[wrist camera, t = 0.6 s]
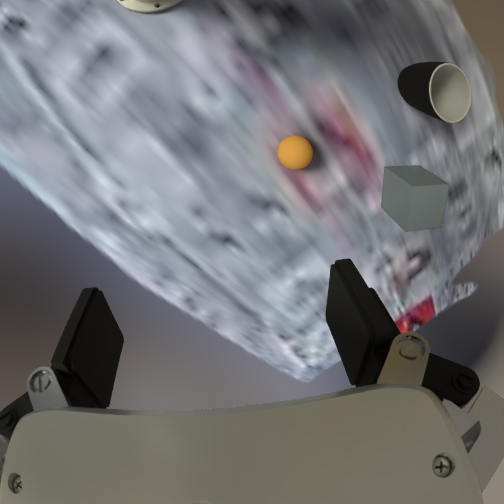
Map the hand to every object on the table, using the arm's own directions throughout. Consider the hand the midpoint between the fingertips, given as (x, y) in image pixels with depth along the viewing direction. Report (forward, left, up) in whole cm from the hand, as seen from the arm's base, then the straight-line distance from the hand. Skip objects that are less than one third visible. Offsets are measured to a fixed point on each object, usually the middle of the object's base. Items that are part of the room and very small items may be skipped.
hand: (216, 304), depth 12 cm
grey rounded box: (+12, +31, -34) cm, 47 cm away
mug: (-7, +34, -35) cm, 49 cm away
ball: (+3, +11, -32) cm, 34 cm away
